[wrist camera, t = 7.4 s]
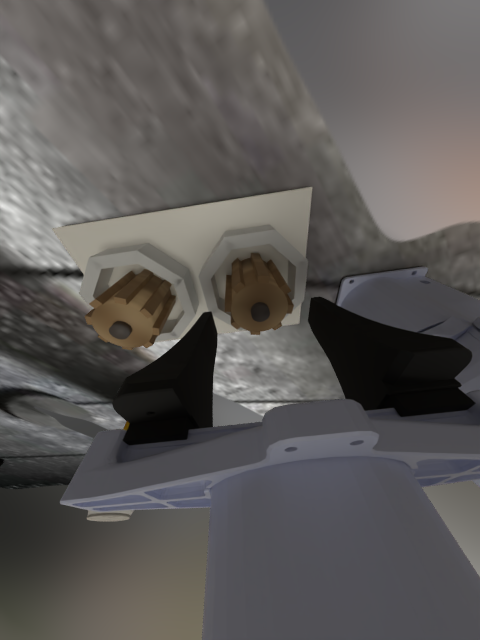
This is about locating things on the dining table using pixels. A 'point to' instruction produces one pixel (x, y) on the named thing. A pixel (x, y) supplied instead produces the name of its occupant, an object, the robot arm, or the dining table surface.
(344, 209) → the dining table surface
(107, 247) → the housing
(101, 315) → the seated gear
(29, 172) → the dining table surface
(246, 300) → the loose gear
